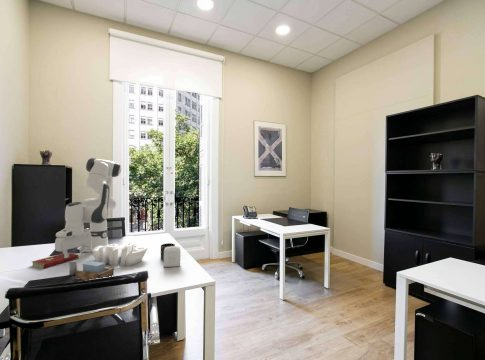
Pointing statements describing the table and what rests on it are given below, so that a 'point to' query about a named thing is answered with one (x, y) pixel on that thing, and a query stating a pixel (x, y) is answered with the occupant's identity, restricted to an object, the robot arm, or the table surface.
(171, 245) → the mug
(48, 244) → the table surface
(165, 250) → the photo printer
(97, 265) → the tethered block
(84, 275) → the wooden tray
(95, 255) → the wavy white extrusion
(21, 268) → the table surface
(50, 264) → the hardcover book
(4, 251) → the table surface
